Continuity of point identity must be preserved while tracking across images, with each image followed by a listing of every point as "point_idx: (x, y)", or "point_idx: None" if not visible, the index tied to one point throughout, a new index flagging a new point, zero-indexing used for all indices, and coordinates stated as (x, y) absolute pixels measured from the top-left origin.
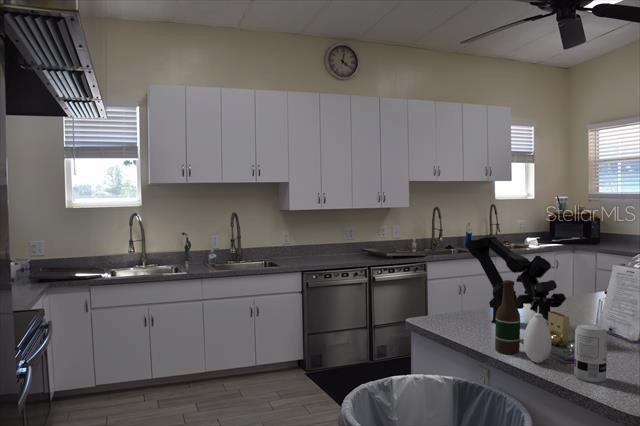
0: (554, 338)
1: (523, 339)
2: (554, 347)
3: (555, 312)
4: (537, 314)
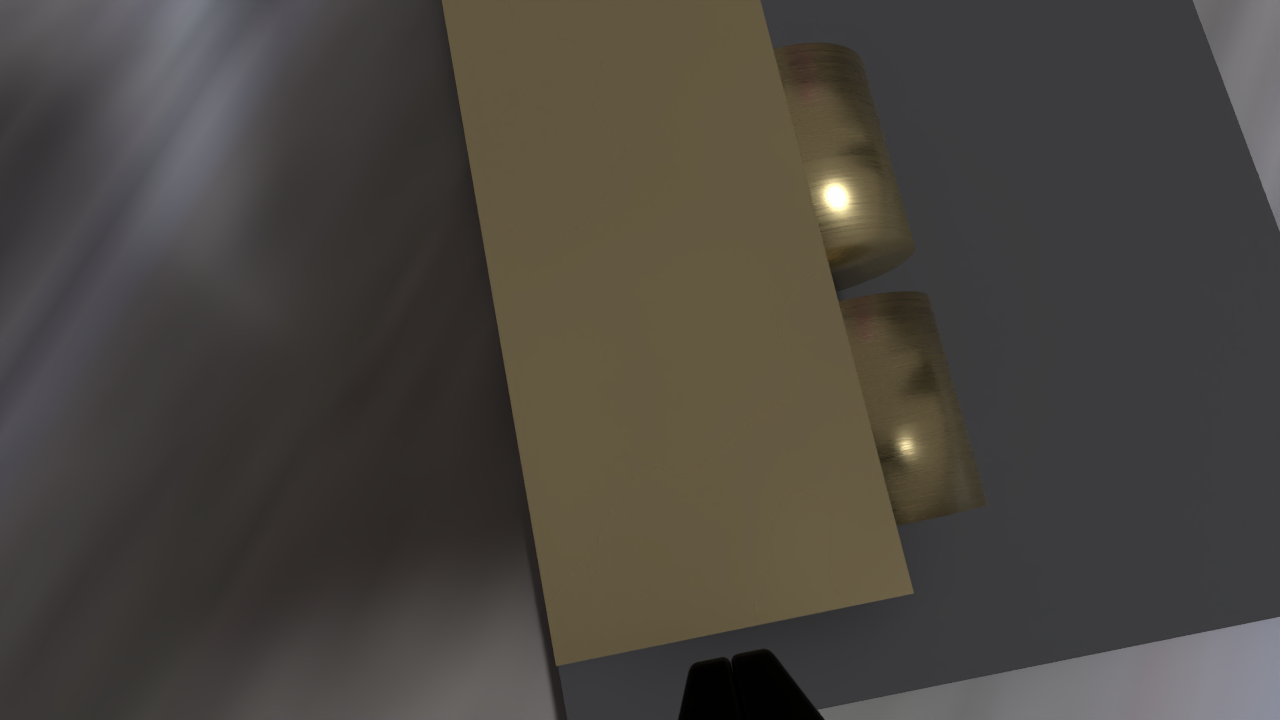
0: (855, 62)
1: (1258, 600)
2: None
3: (599, 435)
4: None
